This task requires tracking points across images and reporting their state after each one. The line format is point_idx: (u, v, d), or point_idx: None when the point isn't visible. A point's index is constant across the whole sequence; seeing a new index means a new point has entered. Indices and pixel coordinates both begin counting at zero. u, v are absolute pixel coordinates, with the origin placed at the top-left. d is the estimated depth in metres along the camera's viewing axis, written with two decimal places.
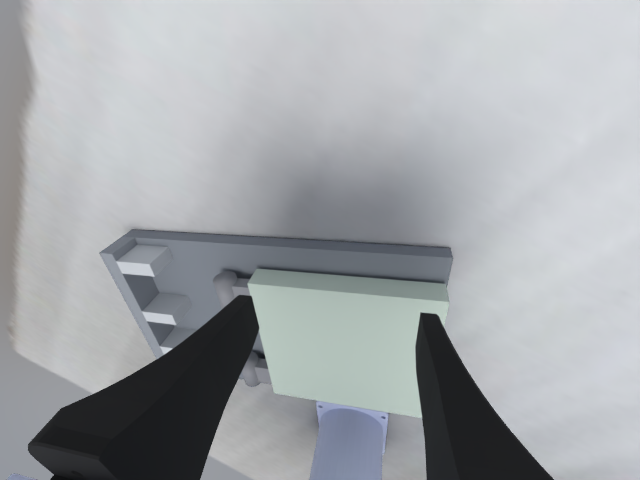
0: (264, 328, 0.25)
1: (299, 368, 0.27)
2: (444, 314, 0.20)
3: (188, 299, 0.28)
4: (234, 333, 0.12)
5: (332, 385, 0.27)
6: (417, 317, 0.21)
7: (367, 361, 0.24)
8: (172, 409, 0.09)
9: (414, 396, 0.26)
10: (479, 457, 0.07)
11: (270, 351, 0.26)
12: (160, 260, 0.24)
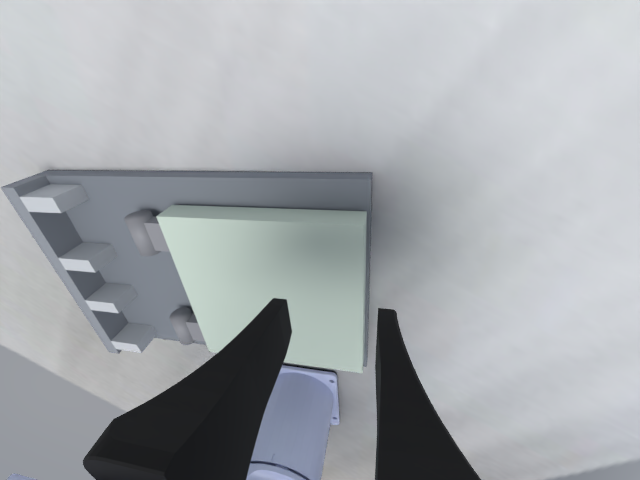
0: (183, 271, 0.23)
1: (228, 318, 0.25)
2: (361, 241, 0.18)
3: (112, 247, 0.26)
4: (272, 338, 0.12)
5: None
6: (335, 248, 0.19)
7: (294, 306, 0.23)
8: (223, 419, 0.08)
9: (348, 347, 0.24)
10: (402, 443, 0.07)
11: (195, 300, 0.25)
12: (69, 197, 0.22)
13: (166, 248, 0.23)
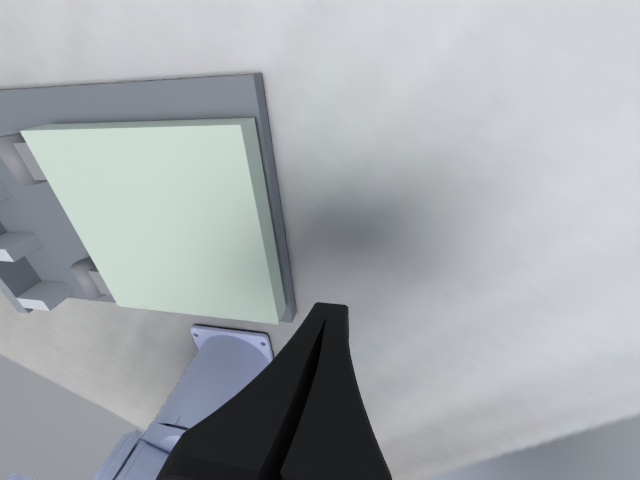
0: (67, 203, 0.20)
1: (127, 263, 0.22)
2: (242, 148, 0.16)
3: (1, 185, 0.23)
4: (321, 344, 0.11)
5: (169, 285, 0.23)
6: (216, 159, 0.16)
7: (190, 241, 0.20)
8: (288, 431, 0.08)
9: (257, 291, 0.21)
10: (320, 428, 0.07)
11: (88, 240, 0.22)
12: None
13: (44, 175, 0.20)
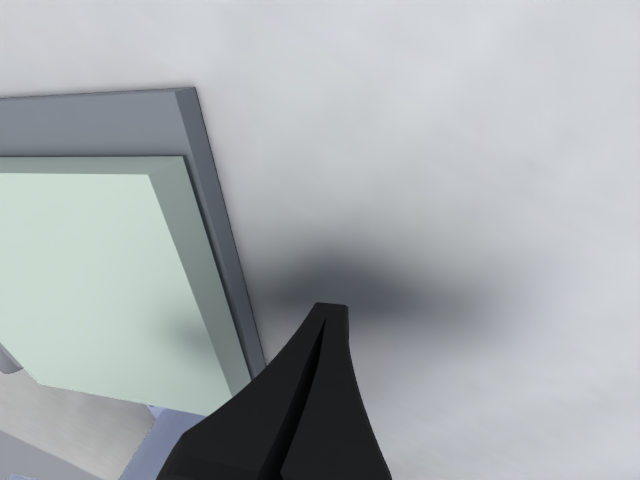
0: None
1: (35, 340, 0.16)
2: (157, 208, 0.10)
3: None
4: (321, 344, 0.11)
5: (94, 368, 0.17)
6: (121, 222, 0.10)
7: (108, 322, 0.14)
8: (289, 431, 0.08)
9: (208, 386, 0.15)
10: (320, 428, 0.07)
11: None
12: None
13: None
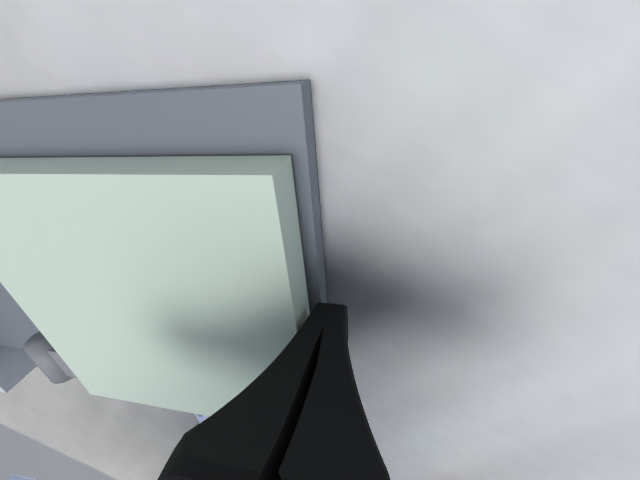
0: (2, 274, 0.14)
1: (96, 350, 0.16)
2: (273, 212, 0.09)
3: None
4: None
5: (158, 379, 0.16)
6: (226, 227, 0.10)
7: (185, 333, 0.13)
8: (290, 432, 0.08)
9: None
10: (318, 427, 0.07)
11: (40, 320, 0.15)
12: None
13: None
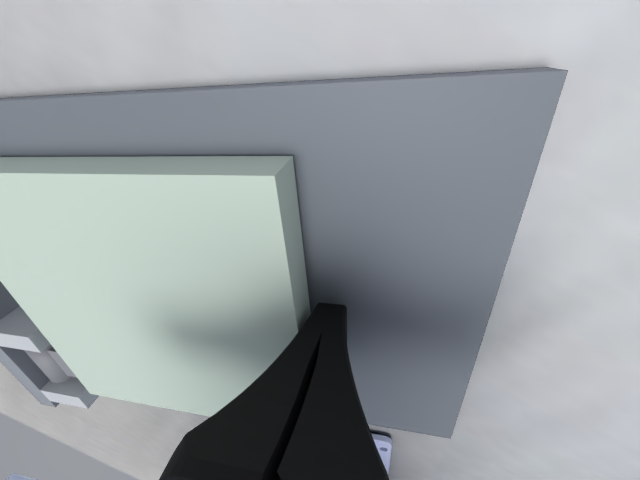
0: (2, 273, 0.14)
1: (96, 349, 0.16)
2: (275, 213, 0.09)
3: None
4: None
5: (158, 379, 0.16)
6: (228, 227, 0.10)
7: (186, 333, 0.13)
8: (292, 432, 0.08)
9: None
10: (317, 427, 0.07)
11: (40, 320, 0.15)
12: None
13: None
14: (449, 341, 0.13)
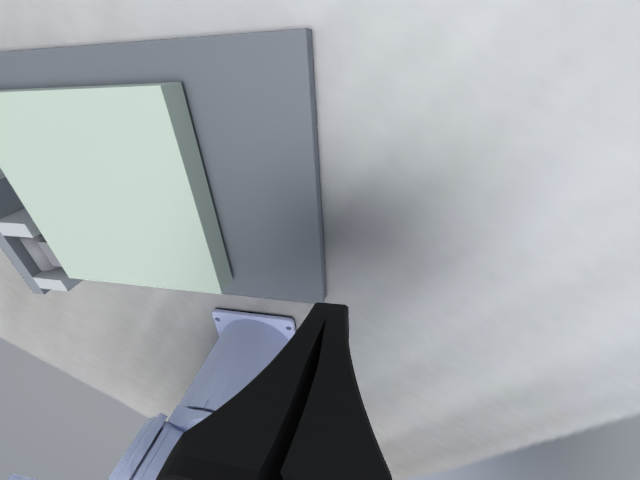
0: (8, 170, 0.21)
1: (72, 232, 0.23)
2: (165, 109, 0.16)
3: None
4: (321, 344, 0.11)
5: (114, 255, 0.23)
6: (142, 121, 0.17)
7: (128, 208, 0.20)
8: (288, 431, 0.08)
9: (197, 260, 0.21)
10: (320, 428, 0.07)
11: (32, 209, 0.22)
12: None
13: None
14: (299, 215, 0.20)
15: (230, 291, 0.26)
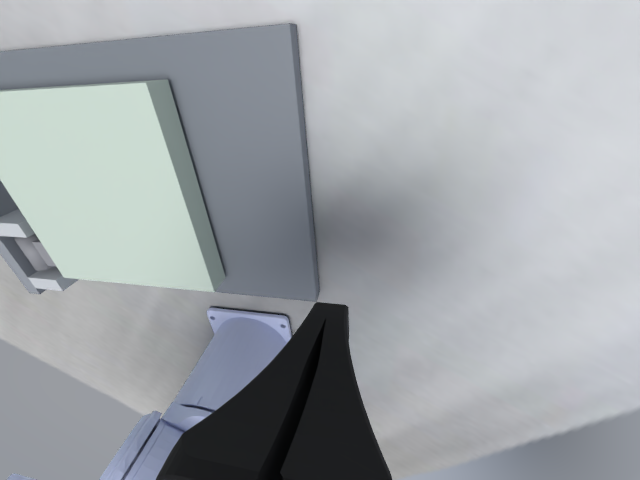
0: (0, 170, 0.21)
1: (64, 231, 0.23)
2: (151, 107, 0.16)
3: None
4: (321, 344, 0.11)
5: (107, 254, 0.23)
6: (129, 119, 0.17)
7: (119, 206, 0.20)
8: (289, 431, 0.08)
9: (189, 258, 0.21)
10: (320, 428, 0.07)
11: (25, 209, 0.22)
12: None
13: None
14: (289, 212, 0.20)
15: (224, 289, 0.26)
